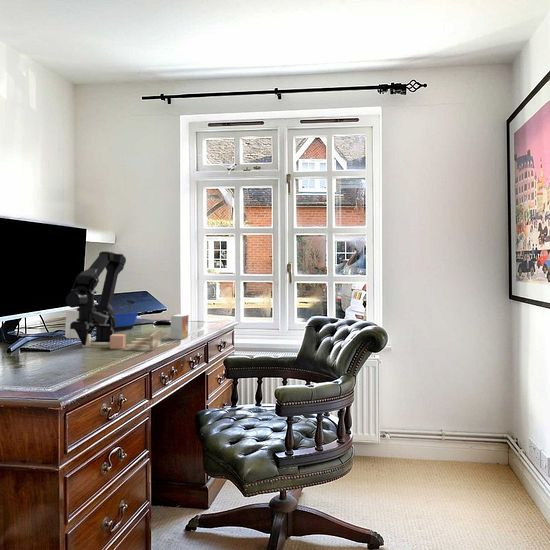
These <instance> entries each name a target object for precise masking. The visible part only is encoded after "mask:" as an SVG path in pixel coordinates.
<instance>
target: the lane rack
mask: <svg viewBox="0 0 550 550" xmlns="http://www.w3.org/2000/svg"><path fill="white" fill-rule="evenodd" d="M134 339H135V340H131V341H130V344H126V343H125V347H124V348H125V351H142V352H143V351H151V352H153V351H154V350H155V349H157V348H158V347H159V346H160V345H161V344H162V329H157V330H155V331H154V332H152V334H150V335H149V338H146V337H145V338H144V337H143V338H142V337H141V338H140V337H139V338H137V337H136V338H134Z"/></svg>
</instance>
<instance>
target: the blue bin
mask: <svg viewBox="0 0 550 550" xmlns="http://www.w3.org/2000/svg"><path fill="white" fill-rule="evenodd" d="M113 315H114V317H115V319H116V321H117V325H116V327H113V330H114V332H116V331H124V330H132V329H134V324H135V322H136V319H137V316H138V315H139V312H137V311H131V312H123V313H122V312H121V313H114V314H113Z"/></svg>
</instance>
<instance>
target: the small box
mask: <svg viewBox="0 0 550 550" xmlns="http://www.w3.org/2000/svg"><path fill="white" fill-rule="evenodd" d="M189 316H190V315H189V314H181V313H180V314H179V313H177V314H175V315H171V316H170V339H171V340H172V339H173V340H183V339H186V338H189Z"/></svg>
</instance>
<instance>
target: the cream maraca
mask: <svg viewBox="0 0 550 550" xmlns="http://www.w3.org/2000/svg"><path fill="white" fill-rule="evenodd" d="M126 335H127V334H126V333H122V334H121V333H120V334H119V333H114V334H112V335H111V336H110V342H93V341H91V340H92V339H91V338H92V334H88V335H87V341H86V345H82V344H81V348H91V345H102V346H103V345H104V346H105V345H106V346H108V345H109V349H111V350H112V349H113V350H114V349H116V350H117V349H121V350H122V349H124V348H125V346H126Z"/></svg>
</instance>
